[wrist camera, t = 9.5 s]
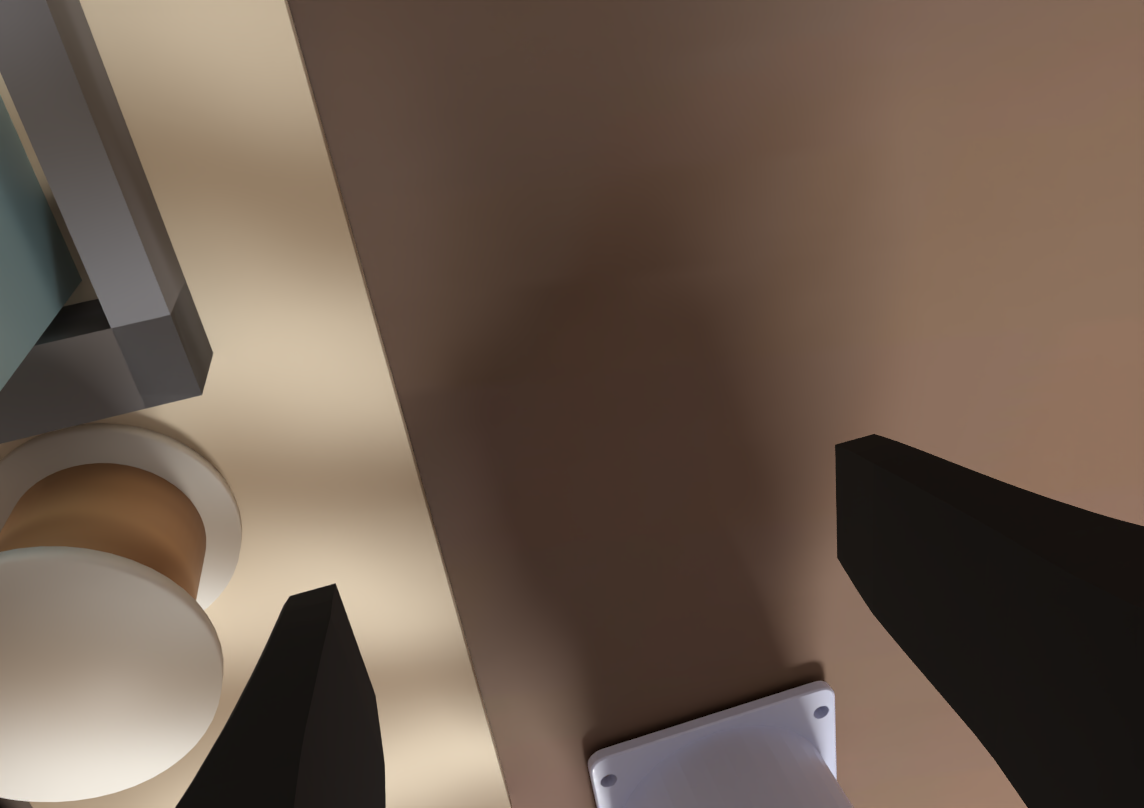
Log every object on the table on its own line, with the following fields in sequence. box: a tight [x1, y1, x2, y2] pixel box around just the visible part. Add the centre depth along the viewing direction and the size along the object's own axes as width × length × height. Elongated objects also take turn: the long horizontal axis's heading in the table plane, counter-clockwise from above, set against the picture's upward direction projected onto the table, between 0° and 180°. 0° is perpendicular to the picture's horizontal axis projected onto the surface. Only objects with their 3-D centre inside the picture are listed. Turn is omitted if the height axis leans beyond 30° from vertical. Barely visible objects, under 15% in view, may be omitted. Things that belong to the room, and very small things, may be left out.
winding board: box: [0, 0, 512, 808], centre depth 18 cm, size 26×11×6 cm, turn 9°
